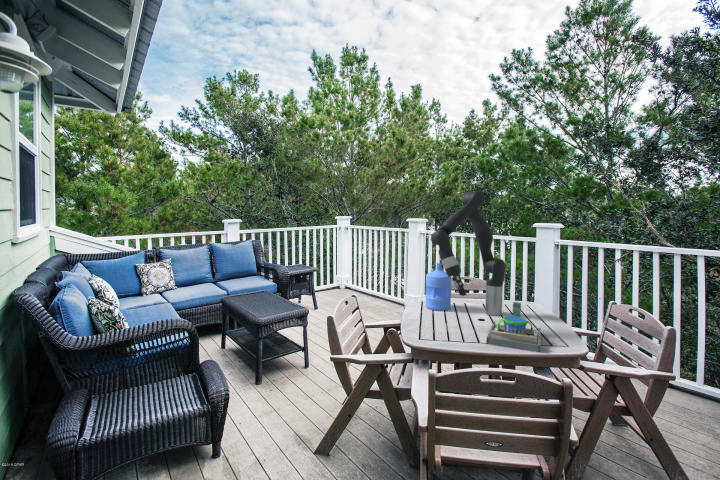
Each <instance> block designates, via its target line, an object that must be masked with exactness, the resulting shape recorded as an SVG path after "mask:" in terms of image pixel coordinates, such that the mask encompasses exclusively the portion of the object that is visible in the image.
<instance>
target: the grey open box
mask: <svg viewBox="0 0 720 480" xmlns="http://www.w3.org/2000/svg"><path fill="white" fill-rule="evenodd" d="M521 309H522V303H521V302H517V301H513V303H512V316H517V317H522V316H521V314H522V313H521V312H522V311H521ZM497 324H498V323H497ZM497 324H496V323H495V328H494V330H493V331H492V330H491V334H490V337H491V338H498V339H504V340H511V341H518V342H524V343H531V344H538V329H534V328H533V332H532V334H530V331H531V328H525V332H524V335H520V334H513V333H506V332H505V327H504V325H502V324H499V331H498V329H497ZM500 330H501V331H500ZM503 331H504V332H503ZM526 334H530V335H526ZM532 335H533V336H532Z"/></svg>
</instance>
